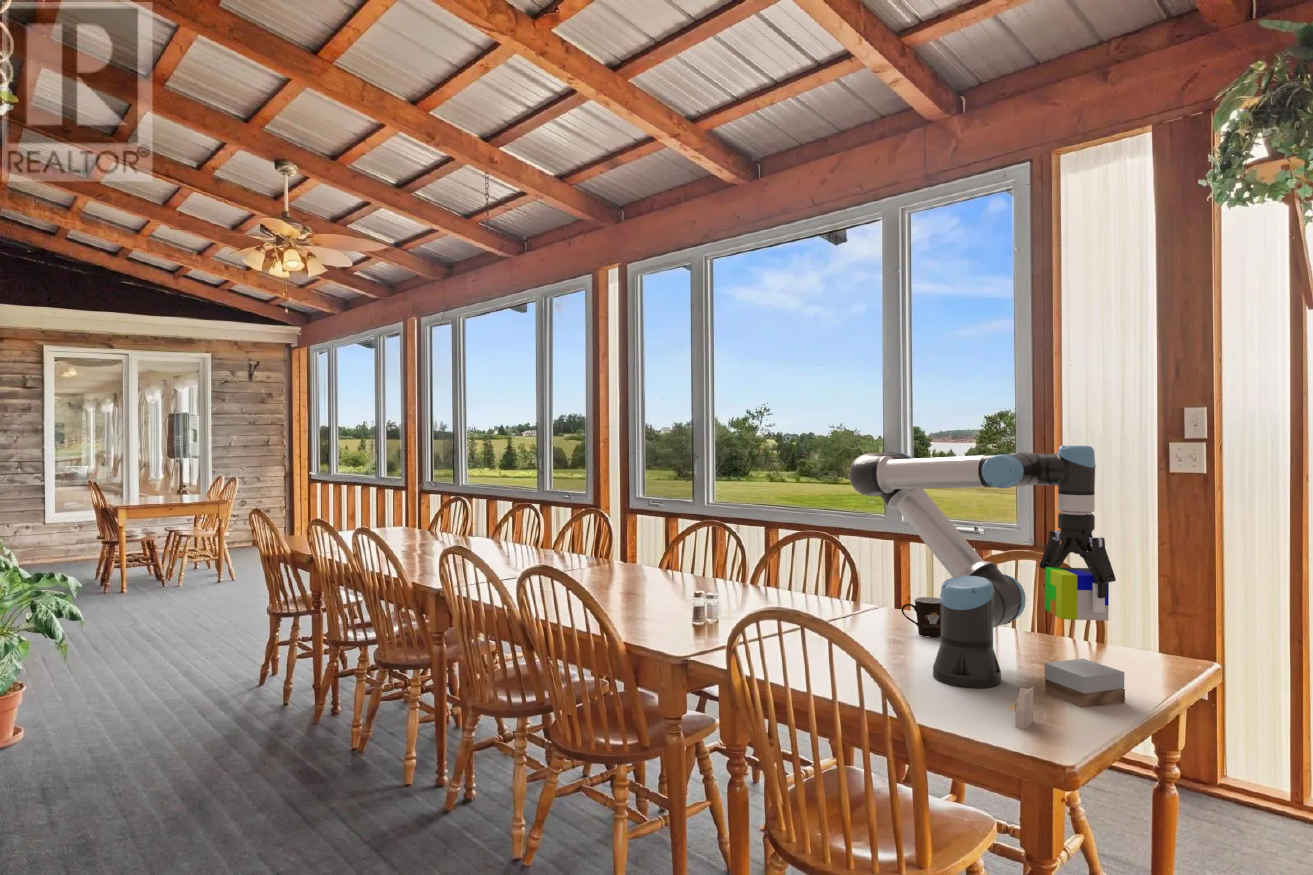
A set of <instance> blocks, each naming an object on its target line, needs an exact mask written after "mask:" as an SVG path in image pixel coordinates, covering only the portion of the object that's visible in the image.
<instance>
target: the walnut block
mask: <svg viewBox="0 0 1313 875" xmlns="http://www.w3.org/2000/svg"><path fill="white" fill-rule="evenodd" d="M1044 681H1045V682H1044V683H1045V684H1044V686H1045V687H1044V690H1045V692H1046V693H1048V694H1051V695H1053V696H1055V697H1057V698H1059V699H1061V700H1064V701H1066V702H1068V703H1071V704H1073V705H1074V706H1077V707H1080V708H1090V707H1091V708H1092V707H1101V706H1111V705H1120V704H1125V703H1126V689H1125V688H1122V689H1115V690H1107V691H1100V692H1092V693H1085V694H1084V693H1082V692H1079V691H1076V690H1074V689H1071V688H1068V687H1066V686H1063V685H1060V684H1058V683H1055V682H1053V681H1050V680H1047V679H1045V678H1044Z"/></svg>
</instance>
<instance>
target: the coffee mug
mask: <svg viewBox="0 0 1313 875" xmlns="http://www.w3.org/2000/svg"><path fill="white" fill-rule="evenodd" d="M908 606H909V607H912V609H914V611H915V612H916V621H915V620H913V619H911V618H910V617H909V616H907V615H906V613H905V612H904V610H905V608H906V607H908ZM901 613H902V615H903V617H905V618H906V619H907V620H908V621H910V622H912V623H913V624H915V625H916V627H917V628H918V629H917V630H918V635H919V636H922V637H924V636H929V637H928V638H941V637H940V636H941V601H940V597H934V596H933V597H932V596H920V597H919V596H918V597H915V598H914V604H913V603H912V604H911V603H905V604H903V605H902V607H901Z"/></svg>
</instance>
